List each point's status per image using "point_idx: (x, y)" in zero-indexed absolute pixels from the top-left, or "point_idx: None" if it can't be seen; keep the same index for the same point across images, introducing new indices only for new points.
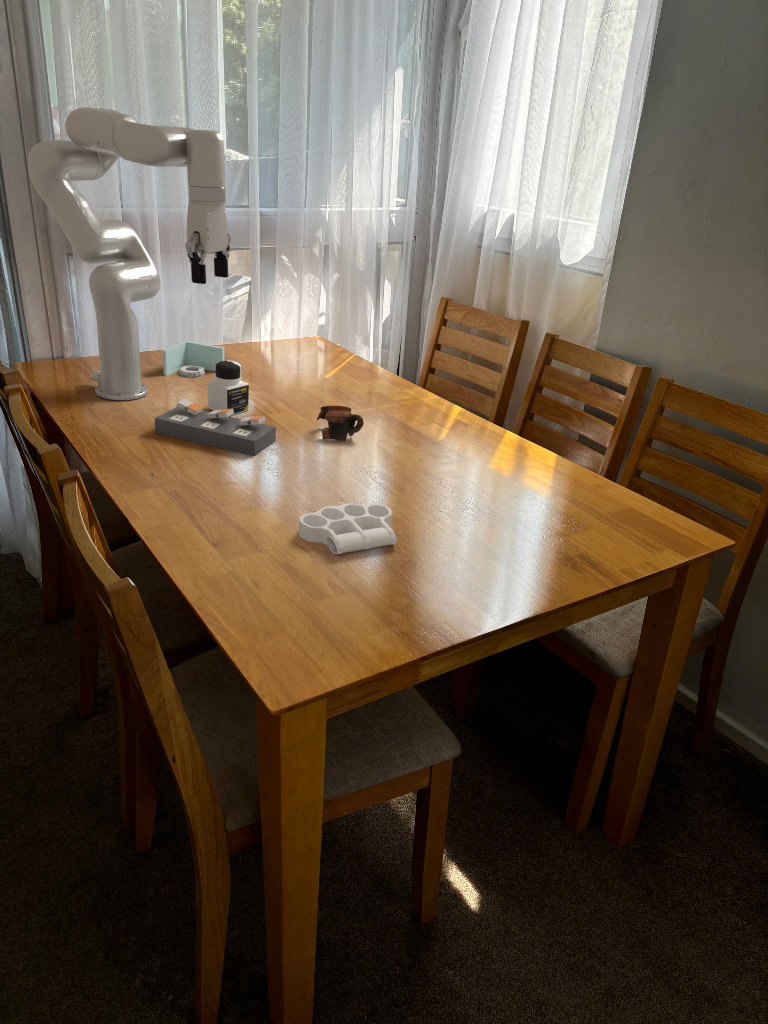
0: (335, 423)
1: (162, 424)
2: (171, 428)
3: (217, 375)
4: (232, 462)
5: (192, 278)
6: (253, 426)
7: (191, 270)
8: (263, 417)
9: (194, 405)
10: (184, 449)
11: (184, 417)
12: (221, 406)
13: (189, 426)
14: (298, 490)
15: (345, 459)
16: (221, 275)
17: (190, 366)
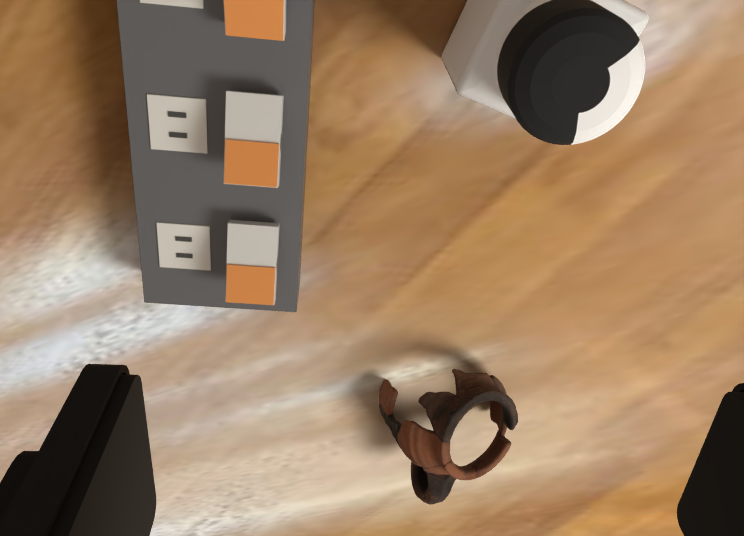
0: (397, 441)
1: None
2: None
3: (514, 30)
4: (74, 239)
5: (71, 406)
6: None
7: (17, 494)
8: (264, 303)
9: (262, 8)
10: (60, 60)
11: None
12: (459, 32)
13: (122, 54)
14: (37, 425)
15: (277, 456)
16: (702, 478)
17: None
